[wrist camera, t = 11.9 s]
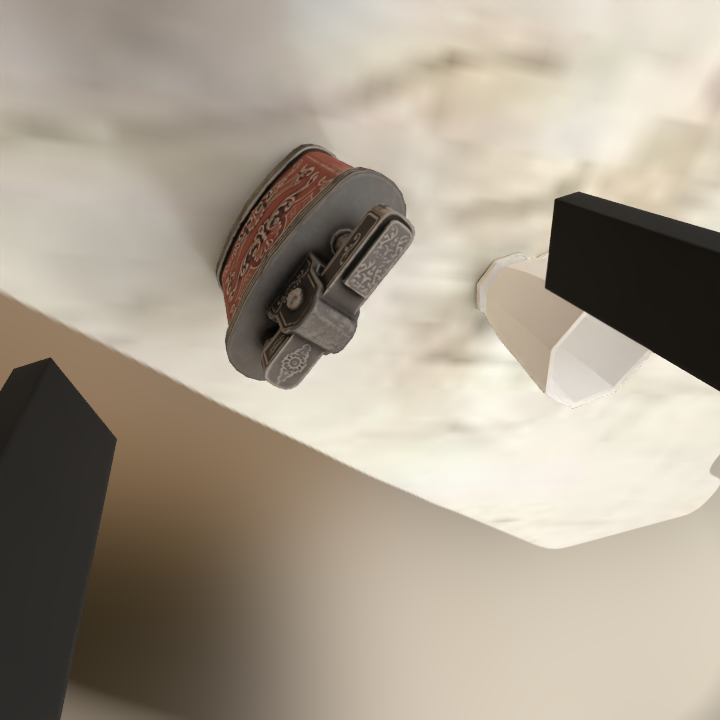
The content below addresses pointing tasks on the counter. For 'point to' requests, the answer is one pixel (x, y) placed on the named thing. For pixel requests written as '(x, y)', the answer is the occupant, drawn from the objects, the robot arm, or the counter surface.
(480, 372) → the counter surface
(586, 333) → the cup
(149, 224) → the counter surface
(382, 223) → the lighter
